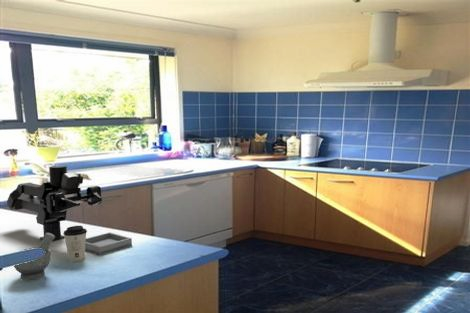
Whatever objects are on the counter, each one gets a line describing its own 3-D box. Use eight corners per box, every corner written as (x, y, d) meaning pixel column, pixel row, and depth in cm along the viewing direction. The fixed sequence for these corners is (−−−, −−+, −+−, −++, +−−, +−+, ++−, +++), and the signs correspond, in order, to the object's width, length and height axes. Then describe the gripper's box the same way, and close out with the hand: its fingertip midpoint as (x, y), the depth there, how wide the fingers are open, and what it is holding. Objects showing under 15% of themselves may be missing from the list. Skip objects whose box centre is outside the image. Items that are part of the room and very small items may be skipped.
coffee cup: (81, 263, 134) (79, 231, 133) (60, 262, 135) (58, 230, 134) (92, 256, 141) (91, 225, 140) (72, 255, 142) (70, 224, 141)
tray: (78, 247, 150) (77, 240, 149) (110, 239, 159) (109, 232, 159) (99, 255, 142) (99, 247, 141) (131, 245, 151) (131, 238, 151)
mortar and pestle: (12, 285, 117) (9, 241, 116) (13, 274, 126) (10, 233, 125) (58, 278, 122) (55, 236, 121) (56, 267, 130) (54, 228, 129)
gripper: (35, 176, 145) (60, 181, 135) (86, 170, 159) (112, 173, 149) (37, 209, 146) (62, 217, 136) (88, 200, 161) (113, 206, 151)
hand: (89, 202), depth 143 cm, fingers open, 9 cm apart
